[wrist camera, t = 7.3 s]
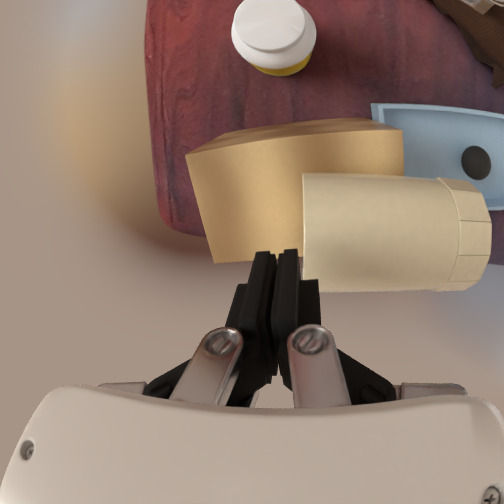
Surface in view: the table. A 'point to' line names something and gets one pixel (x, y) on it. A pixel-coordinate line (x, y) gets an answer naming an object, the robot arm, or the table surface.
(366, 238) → the jar
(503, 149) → the tray
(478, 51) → the potted plant
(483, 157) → the ball
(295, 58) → the pill bottle
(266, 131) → the plinth
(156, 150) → the table surface
